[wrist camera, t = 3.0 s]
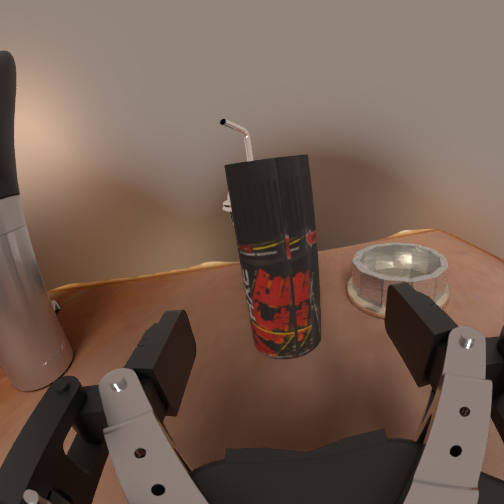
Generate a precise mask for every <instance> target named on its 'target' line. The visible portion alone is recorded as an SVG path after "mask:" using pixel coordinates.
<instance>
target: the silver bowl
mask: <svg viewBox="0 0 504 504" xmlns="http://www.w3.org/2000/svg"><path fill="white" fill-rule="evenodd" d="M447 274H448V263H447V259H446V257H445V256H444V255H442V254H441V253H439V252H437V251H436V250H434V249H432V248H428V247H425V246H421V245H417V244H410V243H385V244H378V245H373V246H369V247H367V248H365V249H362V250H360V251H358V252H357V253H356V255H355V256H354V258H353V260H352V277H351V278H350V279H349V281H348V286H347V293H348V298H349V300H350V301H351V303H352V304H353V305H354V306H355V307H356V308H358V309H359V310H361V311H362V312H364V313H366V314H369V315H371V316H374V317H377V318H381V319H385V310H386V299H387V289H388V286H389V285H391V284H397V283H402V282H408V283H409V284H410V285H411V286H412V287H413V288H414V289H415V290H416V291H417V292H421V293H423V294H425V295H427V296H429V297H430V298H431V299H432V300H433V301H434V302H435V303H436V305H438V306H439V307H440V308H441V310H442V309H443V308H444V307H445V306H446V304H447V302H448V297H449V285H448V283H447V282H446V281H447Z"/></svg>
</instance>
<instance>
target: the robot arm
mask: <svg viewBox="0 0 504 504" xmlns="http://www.w3.org/2000/svg"><path fill="white" fill-rule="evenodd" d="M15 96H16V66H15V62H14V58H13V56H12V55H11V54H10V53H9V52H8V51H0V366H1V367H2V369H3V371H4V372H5V374H6V375H7V377H8V378H9V380H10V382H11V383H12V385H13V386H14V387H15V388H16V389H18V390H21V391H34V390H37V389H40V388H43V387H45V386H47V385H49V384H50V383H52V382H53V383H52V384H51V386H50V387H49V388H48V390H47V391H46V393H45V394H44V396H43V397H42V399H41V400H40V402H39V403H38V405H37V406H36V408H35V410H34V411H33V413H32V414H31V416H30V417H29V419H28V421H27V422H26V424H25V425H24V427H23V429H22V430H21V432H20V434H19V435H18V437H17V439H16V441H15V442H14V444H13V446H12V448H11V449H10V451H9V453H8V455H7V457H6V458H5V460H4V462H3V464H2V466H1V468H0V504H92V501H93V498H94V495H95V491H96V488H97V485H98V482H99V479H100V477H101V474H102V471H103V468H104V465H105V462H106V460H107V457H108V454H109V453H110V456H111V459H112V462H113V465H114V468H115V471H116V473H117V476H118V479H119V481H120V484H121V486H122V489H123V491H124V494H125V496H126V498H127V501H128V503H129V504H504V481H503V480H500V479H498V478H495V477H493V476H490V475H488V474H486V473H483V472H481V468H482V463H483V459H484V454H485V449H486V443H487V437H488V430H489V423H490V417H491V419H492V421H493V423H494V425H495V426H496V428H497V430H498V432H499V434H500V436H501V438H502V441H503V443H504V326H503V328H502V330H501V333H500V336H499V337H490V338H485V337H484V335H483V334H482V333H481V332H480V331H479V330H477V329H475V328H472V327H468V326H461V327H458V325H457V324H456V323H455V322H454V321H453V320H452V319H451V318H450V317H449V316H448V315H447V314H446V313H445V312H444V311H443V310H441V308H440V307H439V306H438V305H436V303H435V302H434V301H433V300H432V299H431V298H430V297H429V296H427V295H425V294H423V293H421V292H417V291H416V290H415V289H414V288H413V287H412V286H411V285H410V284H409V283H408V282H402V283H397V284H391V285H389V286H388V289H387V299H386V310H385V328H386V332H387V334H388V335H389V337H390V339H391V340H392V342H393V344H394V345H395V347H396V349H397V350H398V352H399V354H400V355H401V357H402V359H403V361H404V362H405V364H406V366H407V367H408V369H409V371H410V373H411V375H412V376H413V378H414V380H415V382H416V384H417V385H418V387H422V386H425V385H428V384H430V385H431V387H432V388H431V391H430V394H429V397H428V400H427V404H426V407H425V410H424V413H423V416H422V419H421V422H420V425H419V428H418V431H417V433H416V436H415V438H414V440H409V439H402V438H387V437H386V434H385V431H384V429H380V430H376V431H372V432H368V433H364V434H360V435H355V436H351V437H347V438H344V439H342V440H339V441H337V442H334V443H332V444H329V445H327V446H324V447H322V448H319V449H316V450H313V451H310V452H296V451H286V450H278V449H270V448H246V449H226V454H225V459H221V460H217V461H214V462H210V463H208V464H205V465H203V466H201V467H198V468H196V469H195V470H192V468H191V467H190V465H189V464H188V463H187V461H186V460H185V458H184V456H183V455H182V453H181V452H180V450H179V448H178V447H177V445H176V443H175V442H174V440H173V438H172V437H171V435H170V433H169V431H168V430H167V428H166V426H165V424H164V423H163V421H164V418H165V416H177V414H178V411H179V407H180V404H181V401H182V398H183V395H184V391H185V388H186V385H187V382H188V379H189V376H190V372H191V369H192V366H193V363H194V360H195V357H196V343H195V339H194V336H193V333H192V329H191V326H190V323H189V319H188V316H187V313H186V311H185V310H173V311H166V312H165V313H164V314H163V316H162V318H161V319H160V321H159V323H155V324H154V325H153V326H151V327H150V328H149V329H148V330H147V331H146V332H145V334H144V335H143V337H142V338H141V340H140V342H139V343H138V345H137V347H136V348H135V350H134V351H133V353H132V355H131V356H130V358H129V360H128V361H127V363H126V365H125V366H124V368H119V369H115V370H113V371H110V372H109V373H107V374H106V375H105V376H104V377H103V378H102V379H101V380H100V383H99V385H93V386H86V387H83V386H82V385H81V383H80V382H79V380H78V379H77V378H76V377H74V376H64V377H61V378H59V377H60V376H61V375H62V374H63V373H64V372H65V371H66V369H67V368H68V366H69V365H70V363H71V361H72V358H73V350H72V348H71V346H70V344H69V342H68V340H67V338H66V335H65V333H64V331H63V329H62V327H61V325H60V323H59V320H58V318H57V316H56V313H55V311H54V309H53V306H52V304H51V301H50V299H49V296H48V294H47V291H46V288H45V286H44V283H43V280H42V277H41V274H40V271H39V268H38V265H37V262H36V259H35V256H34V252H33V249H32V245H31V242H30V238H29V234H28V230H27V226H26V222H25V218H24V213H23V209H22V204H21V199H20V196H19V194H20V193H19V187H18V181H17V172H16V161H15V149H14V113H15ZM57 378H59V379H57ZM56 379H57V380H56ZM55 380H56V381H55ZM71 426H72V427H73V429H74V430H75V431H76V432H77V434H76V436H75V439H74V441H73V443H72V445H71V447H70V449H69V451H68V454H67V456H66V454H65V453H64V450H63V442H64V440H65V438H66V436H67V434H68V432H69V430H70V428H71Z"/></svg>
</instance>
